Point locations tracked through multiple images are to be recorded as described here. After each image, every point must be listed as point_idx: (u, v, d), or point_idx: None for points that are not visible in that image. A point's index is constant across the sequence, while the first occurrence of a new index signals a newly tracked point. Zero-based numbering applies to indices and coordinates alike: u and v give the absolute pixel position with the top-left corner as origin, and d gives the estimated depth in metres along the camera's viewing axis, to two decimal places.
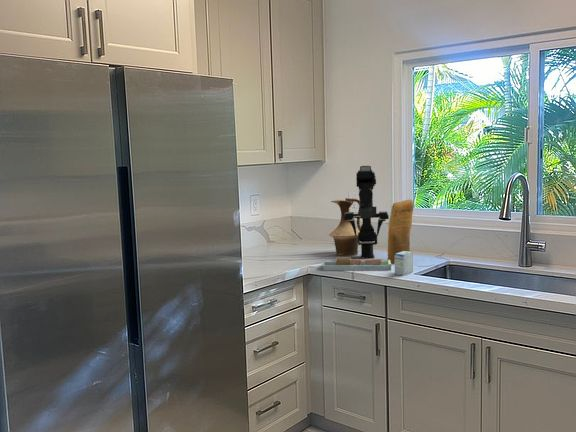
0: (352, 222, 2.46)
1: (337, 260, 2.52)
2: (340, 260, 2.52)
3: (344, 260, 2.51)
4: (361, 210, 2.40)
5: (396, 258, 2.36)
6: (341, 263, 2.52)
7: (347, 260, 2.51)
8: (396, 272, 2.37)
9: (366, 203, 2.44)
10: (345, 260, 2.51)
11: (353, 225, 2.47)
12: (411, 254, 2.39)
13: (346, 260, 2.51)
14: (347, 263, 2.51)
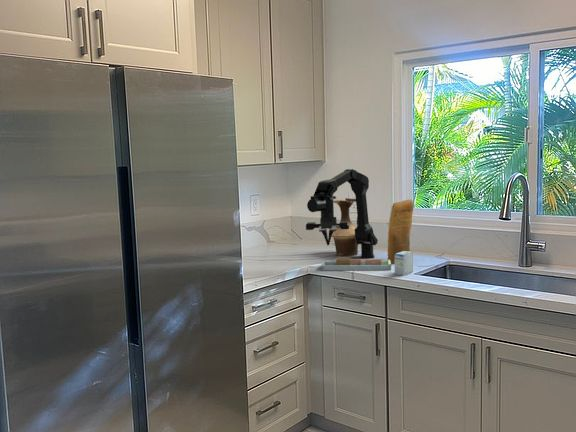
0: (323, 232, 2.51)
1: (337, 260, 2.52)
2: (340, 260, 2.52)
3: (344, 260, 2.51)
4: (321, 220, 2.46)
5: (396, 258, 2.36)
6: (341, 263, 2.52)
7: (347, 260, 2.51)
8: (396, 272, 2.37)
9: (327, 213, 2.50)
10: (345, 260, 2.51)
11: (325, 235, 2.52)
12: (411, 254, 2.39)
13: (346, 260, 2.51)
14: (347, 263, 2.51)
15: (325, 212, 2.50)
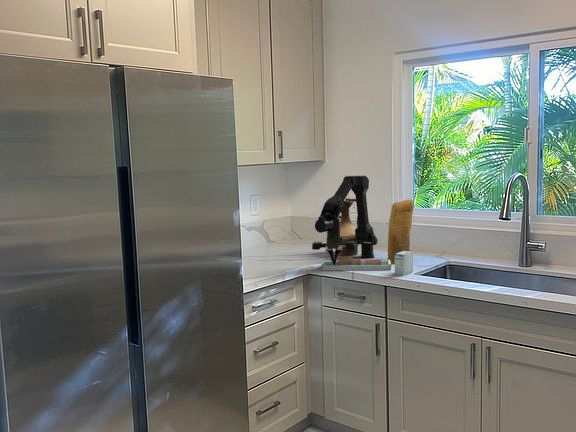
0: (330, 252, 2.52)
1: (339, 260, 2.52)
2: (342, 260, 2.51)
3: (346, 260, 2.51)
4: (328, 241, 2.47)
5: (396, 258, 2.36)
6: (343, 263, 2.52)
7: (349, 260, 2.51)
8: (396, 272, 2.37)
9: (333, 233, 2.50)
10: (347, 260, 2.51)
11: (331, 254, 2.53)
12: (411, 254, 2.39)
13: (348, 260, 2.51)
14: (349, 263, 2.51)
15: (331, 232, 2.50)
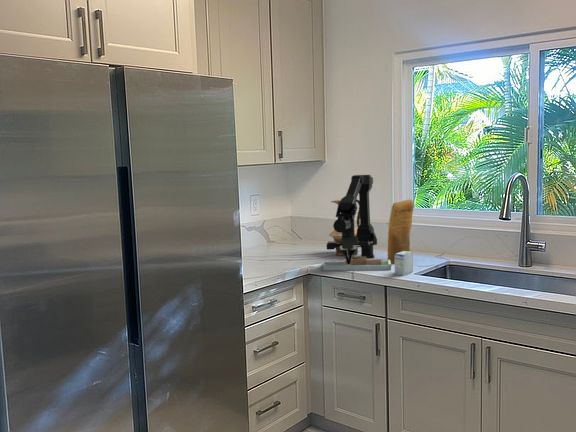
0: (344, 251, 2.51)
1: (354, 259, 2.51)
2: (357, 259, 2.50)
3: (361, 259, 2.50)
4: (343, 240, 2.46)
5: (396, 258, 2.36)
6: (358, 262, 2.51)
7: (364, 259, 2.50)
8: (396, 272, 2.37)
9: (348, 233, 2.49)
10: (362, 259, 2.50)
11: (345, 254, 2.52)
12: (411, 254, 2.39)
13: (363, 259, 2.50)
14: (364, 262, 2.50)
15: (346, 232, 2.49)
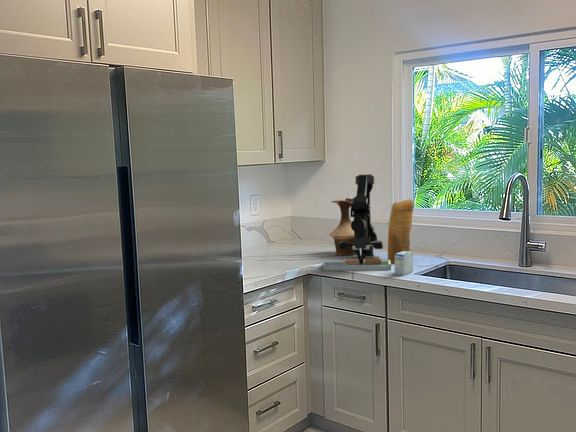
0: (357, 251, 2.50)
1: (366, 259, 2.50)
2: (369, 259, 2.50)
3: (373, 259, 2.50)
4: (355, 240, 2.45)
5: (396, 258, 2.36)
6: (370, 262, 2.50)
7: (376, 259, 2.49)
8: (396, 272, 2.37)
9: (361, 233, 2.49)
10: (374, 259, 2.49)
11: (358, 254, 2.51)
12: (411, 254, 2.39)
13: (375, 259, 2.49)
14: (376, 262, 2.49)
15: (359, 231, 2.49)
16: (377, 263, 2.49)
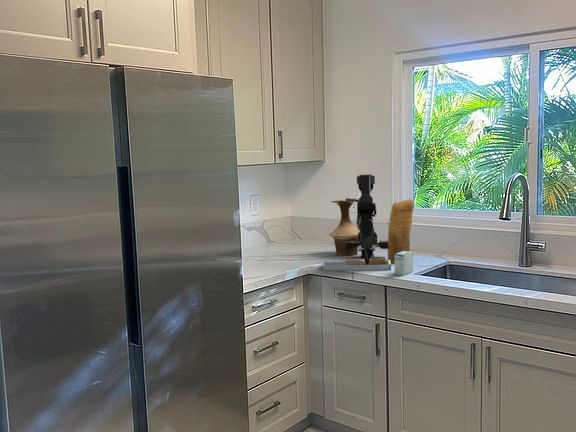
0: (363, 251, 2.50)
1: (372, 259, 2.50)
2: (375, 259, 2.49)
3: (379, 259, 2.49)
4: (362, 240, 2.45)
5: (396, 258, 2.36)
6: (376, 262, 2.50)
7: (382, 259, 2.49)
8: (396, 272, 2.37)
9: (367, 233, 2.48)
10: (380, 259, 2.49)
11: (364, 254, 2.51)
12: (411, 254, 2.39)
13: (381, 259, 2.49)
14: (382, 262, 2.49)
15: (365, 231, 2.48)
16: (383, 263, 2.49)
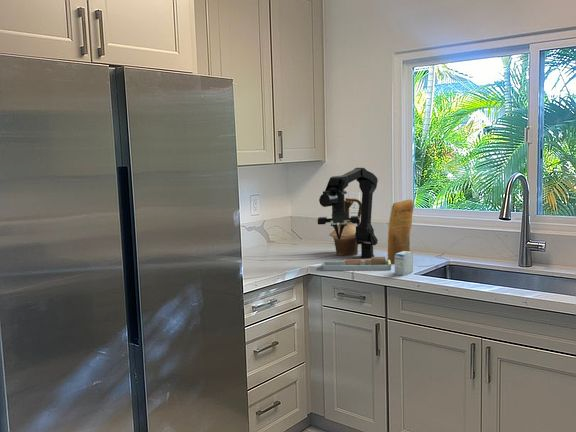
0: (335, 226, 2.56)
1: (372, 260, 2.50)
2: (375, 260, 2.49)
3: (379, 260, 2.49)
4: (333, 215, 2.51)
5: (396, 258, 2.36)
6: (376, 263, 2.50)
7: (383, 260, 2.49)
8: (396, 272, 2.37)
9: (338, 208, 2.55)
10: (381, 260, 2.49)
11: (336, 229, 2.57)
12: (411, 254, 2.39)
13: (382, 260, 2.49)
14: (383, 263, 2.49)
15: (337, 207, 2.55)
16: (383, 263, 2.49)
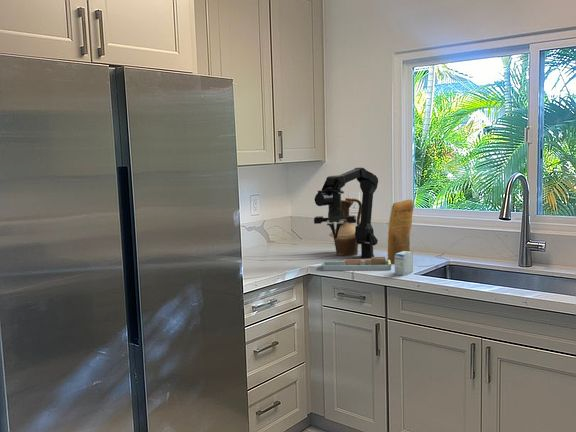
0: (331, 225, 2.58)
1: (372, 260, 2.50)
2: (375, 260, 2.49)
3: (380, 260, 2.49)
4: (329, 214, 2.53)
5: (396, 258, 2.36)
6: (376, 263, 2.50)
7: (383, 260, 2.49)
8: (396, 272, 2.37)
9: (334, 207, 2.56)
10: (381, 260, 2.49)
11: (332, 228, 2.59)
12: (411, 254, 2.39)
13: (382, 260, 2.49)
14: (383, 263, 2.49)
15: (333, 206, 2.56)
16: (383, 263, 2.49)
